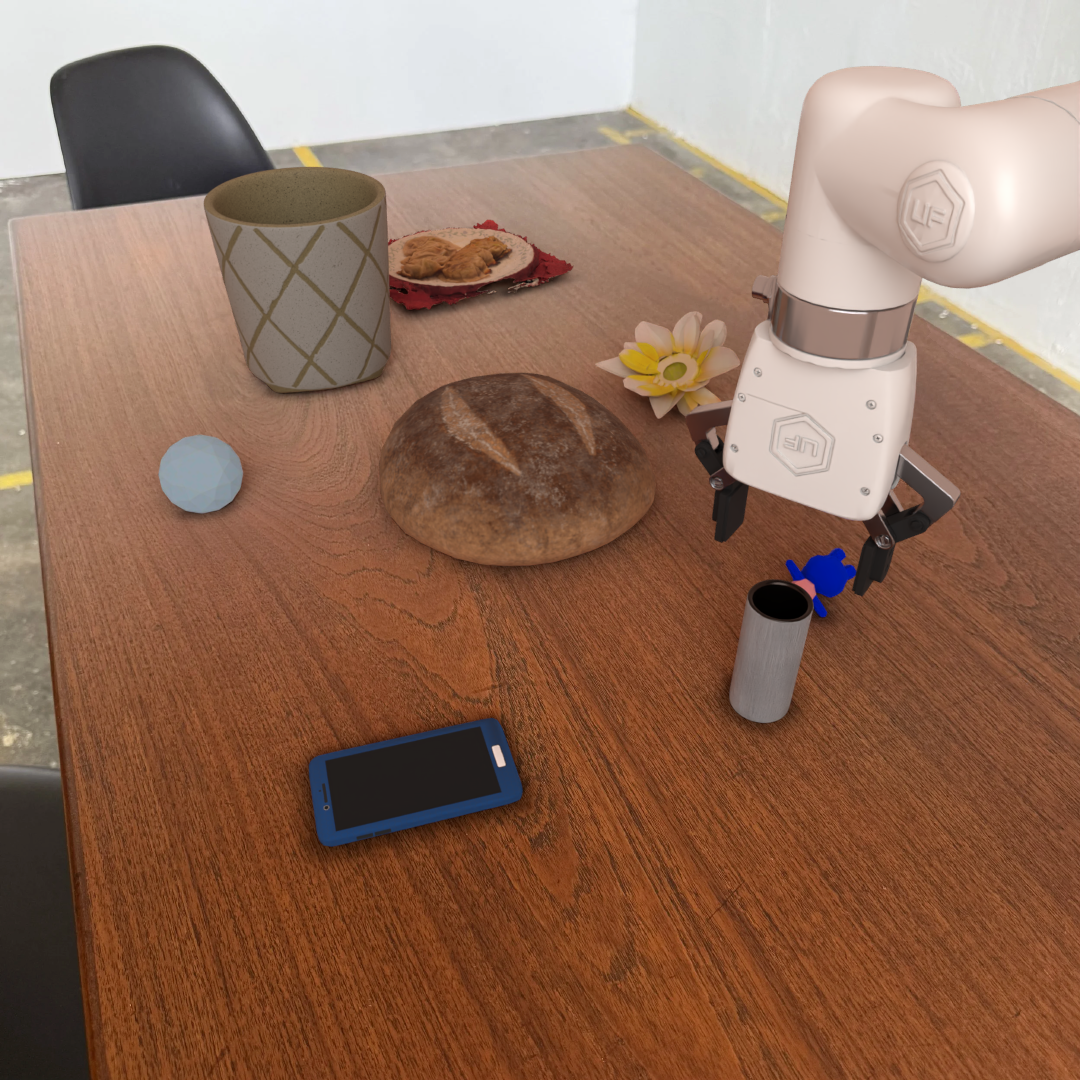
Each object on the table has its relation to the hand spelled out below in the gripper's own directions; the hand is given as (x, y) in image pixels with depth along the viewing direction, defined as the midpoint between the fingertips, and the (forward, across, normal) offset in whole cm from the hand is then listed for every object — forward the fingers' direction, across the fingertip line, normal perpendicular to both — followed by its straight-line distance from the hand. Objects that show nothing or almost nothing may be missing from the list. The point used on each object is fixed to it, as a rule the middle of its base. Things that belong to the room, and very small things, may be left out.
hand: (794, 557), depth 64 cm
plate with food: (+13, -72, +50) cm, 89 cm away
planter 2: (+14, -1, 0) cm, 15 cm away
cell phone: (+14, -17, -21) cm, 30 cm away
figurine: (+14, -2, +12) cm, 19 cm away
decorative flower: (+14, -30, +36) cm, 49 cm away
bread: (+14, -32, +11) cm, 36 cm away
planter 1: (+13, -67, +19) cm, 71 cm away
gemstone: (+13, -56, -7) cm, 58 cm away
